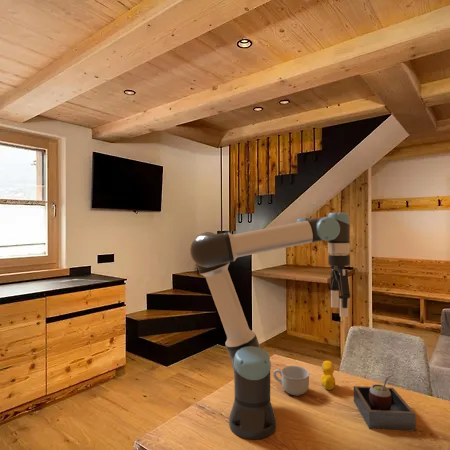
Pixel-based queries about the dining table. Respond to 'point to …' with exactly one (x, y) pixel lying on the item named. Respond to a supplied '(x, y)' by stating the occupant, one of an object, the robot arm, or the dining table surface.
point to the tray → (386, 420)
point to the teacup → (293, 379)
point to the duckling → (328, 375)
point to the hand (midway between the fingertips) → (339, 311)
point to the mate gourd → (380, 397)
